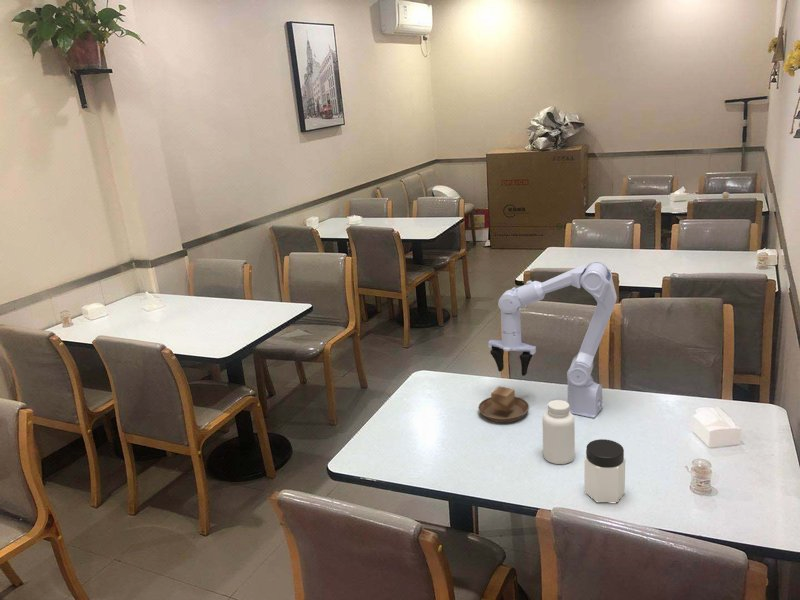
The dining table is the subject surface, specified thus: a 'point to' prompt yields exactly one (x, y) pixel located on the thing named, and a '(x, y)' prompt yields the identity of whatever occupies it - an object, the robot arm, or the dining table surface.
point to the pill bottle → (558, 433)
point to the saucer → (503, 416)
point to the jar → (604, 471)
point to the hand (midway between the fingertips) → (512, 372)
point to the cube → (503, 398)
